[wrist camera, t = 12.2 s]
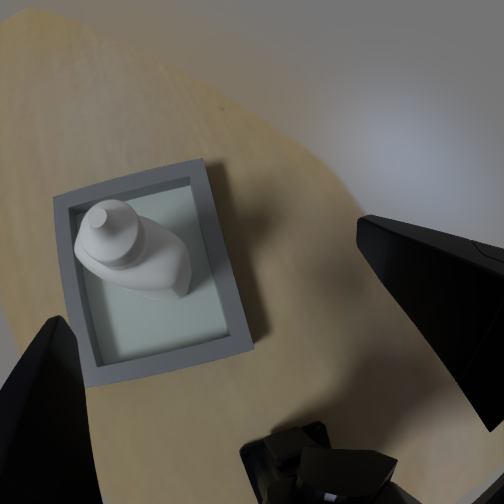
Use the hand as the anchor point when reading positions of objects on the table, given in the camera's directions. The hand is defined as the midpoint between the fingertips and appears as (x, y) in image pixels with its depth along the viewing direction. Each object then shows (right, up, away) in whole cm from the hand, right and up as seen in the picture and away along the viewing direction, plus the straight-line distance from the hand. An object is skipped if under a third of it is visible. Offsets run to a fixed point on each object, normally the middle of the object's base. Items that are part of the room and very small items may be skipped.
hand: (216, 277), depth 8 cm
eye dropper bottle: (-6, -1, +13) cm, 14 cm away
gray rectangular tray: (-6, -1, +13) cm, 14 cm away
